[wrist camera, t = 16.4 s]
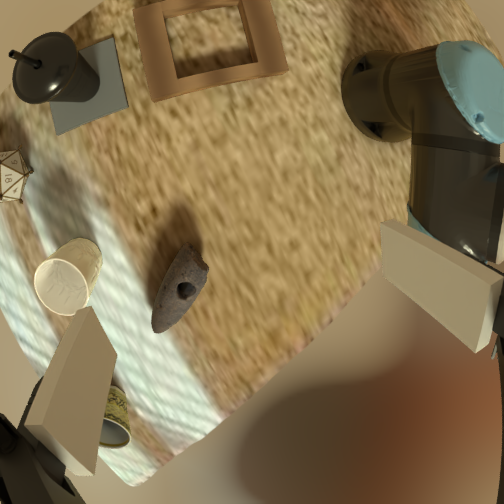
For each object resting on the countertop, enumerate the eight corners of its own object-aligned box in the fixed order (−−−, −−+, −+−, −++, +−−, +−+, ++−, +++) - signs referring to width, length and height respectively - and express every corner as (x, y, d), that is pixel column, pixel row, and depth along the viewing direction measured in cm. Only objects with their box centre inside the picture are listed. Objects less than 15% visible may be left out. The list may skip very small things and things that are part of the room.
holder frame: (260, -7, 33) (264, -16, 30) (282, 74, 38) (288, 70, 36) (135, 17, 31) (132, 9, 29) (154, 102, 37) (151, 99, 34)
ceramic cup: (145, 400, 53) (142, 440, 44) (112, 417, 54) (107, 453, 44) (97, 359, 48) (85, 398, 39) (66, 379, 49) (53, 416, 39)
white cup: (51, 247, 40) (23, 274, 31) (89, 224, 40) (66, 247, 31) (77, 289, 43) (56, 323, 34) (115, 269, 44) (100, 302, 34)
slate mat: (114, 39, 32) (113, 37, 31) (128, 107, 36) (127, 106, 35) (46, 68, 31) (43, 67, 30) (58, 135, 35) (56, 135, 34)
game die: (37, 176, 39) (32, 221, 34) (-9, 182, 35) (-19, 228, 30) (34, 127, 33) (24, 168, 28) (-16, 134, 29) (-34, 177, 24)
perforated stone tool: (170, 326, 49) (168, 352, 42) (141, 312, 47) (135, 337, 40) (216, 250, 46) (221, 269, 39) (185, 233, 44) (185, 249, 38)
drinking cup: (83, 51, 31) (17, 0, 12) (120, 77, 34) (69, 31, 15) (50, 95, 32) (-34, 76, 14) (86, 122, 35) (11, 114, 16)
